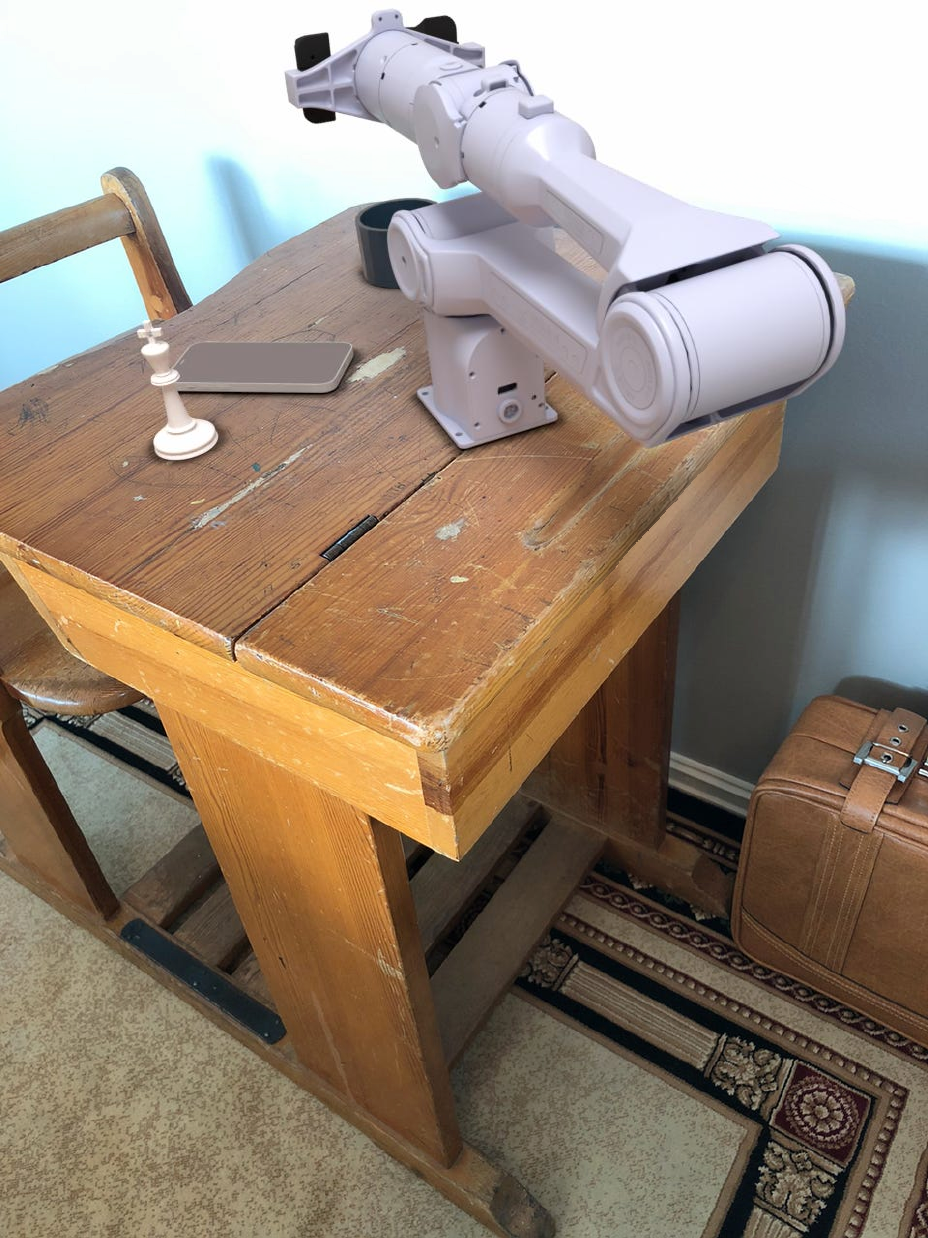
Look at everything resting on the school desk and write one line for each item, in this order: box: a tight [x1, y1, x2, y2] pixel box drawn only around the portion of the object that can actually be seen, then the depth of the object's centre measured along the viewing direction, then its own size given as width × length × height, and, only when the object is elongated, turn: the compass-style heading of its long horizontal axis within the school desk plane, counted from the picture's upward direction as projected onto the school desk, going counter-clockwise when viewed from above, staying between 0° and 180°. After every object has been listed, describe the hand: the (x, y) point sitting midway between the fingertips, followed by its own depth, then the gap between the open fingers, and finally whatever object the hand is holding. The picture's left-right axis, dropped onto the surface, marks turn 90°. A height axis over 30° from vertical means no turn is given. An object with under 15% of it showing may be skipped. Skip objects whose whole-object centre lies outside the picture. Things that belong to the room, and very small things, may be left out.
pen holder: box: [354, 197, 439, 289], centre depth 94 cm, size 8×8×6 cm
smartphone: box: [171, 341, 355, 394], centre depth 82 cm, size 7×1×15 cm
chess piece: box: [136, 319, 219, 461], centre depth 72 cm, size 5×5×10 cm
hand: (347, 51), depth 75 cm, fingers open, 7 cm apart
